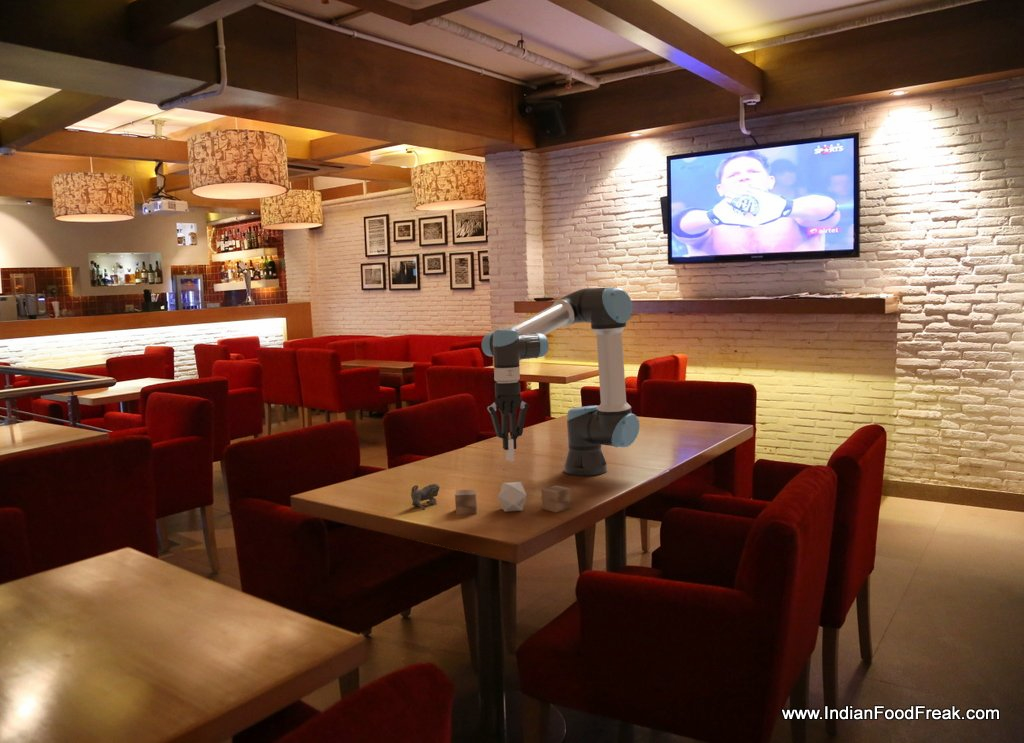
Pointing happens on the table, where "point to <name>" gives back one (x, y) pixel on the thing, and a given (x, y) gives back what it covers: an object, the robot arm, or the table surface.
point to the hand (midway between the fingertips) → (510, 460)
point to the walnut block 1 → (466, 502)
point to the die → (512, 496)
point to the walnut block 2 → (556, 498)
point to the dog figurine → (424, 495)
